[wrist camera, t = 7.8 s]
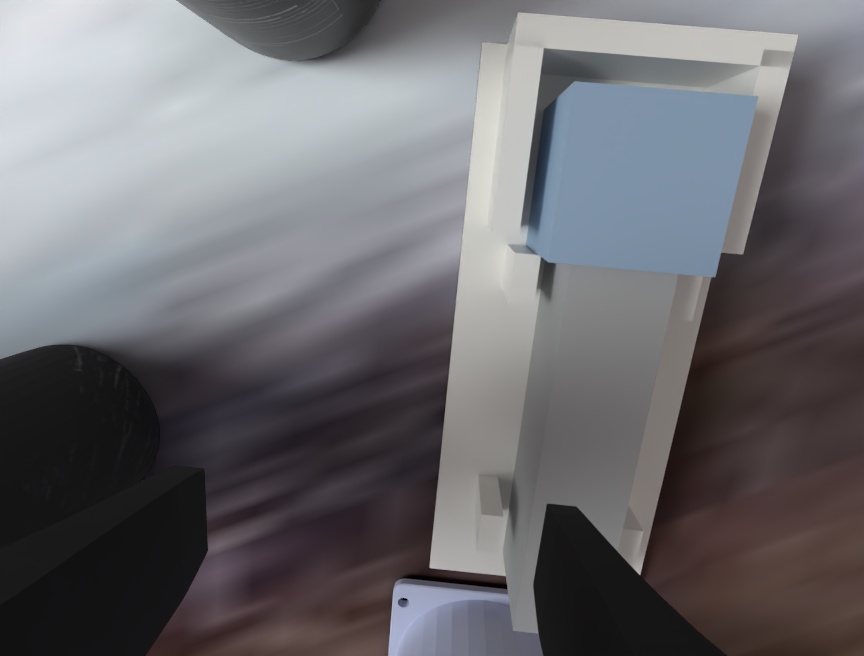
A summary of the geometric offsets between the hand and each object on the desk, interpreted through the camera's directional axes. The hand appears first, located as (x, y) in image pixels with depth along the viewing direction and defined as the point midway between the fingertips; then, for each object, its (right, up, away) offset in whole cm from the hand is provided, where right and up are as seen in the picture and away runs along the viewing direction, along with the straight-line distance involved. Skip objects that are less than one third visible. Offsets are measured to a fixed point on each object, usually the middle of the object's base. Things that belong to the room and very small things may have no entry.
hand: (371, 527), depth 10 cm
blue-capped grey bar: (+7, +4, +8) cm, 11 cm away
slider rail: (+7, +4, +9) cm, 12 cm away
